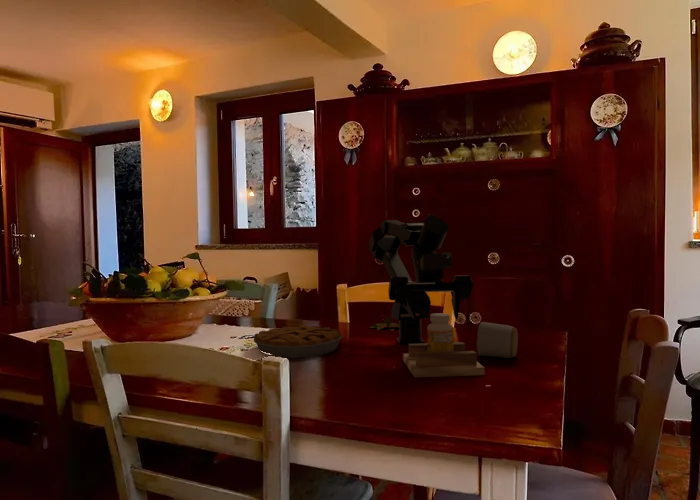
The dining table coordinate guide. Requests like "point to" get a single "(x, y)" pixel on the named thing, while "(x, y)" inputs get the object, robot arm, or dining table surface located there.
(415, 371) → the beech cradle
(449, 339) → the supplement bottle
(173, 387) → the dining table surface
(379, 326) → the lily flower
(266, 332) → the pie
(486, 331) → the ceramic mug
